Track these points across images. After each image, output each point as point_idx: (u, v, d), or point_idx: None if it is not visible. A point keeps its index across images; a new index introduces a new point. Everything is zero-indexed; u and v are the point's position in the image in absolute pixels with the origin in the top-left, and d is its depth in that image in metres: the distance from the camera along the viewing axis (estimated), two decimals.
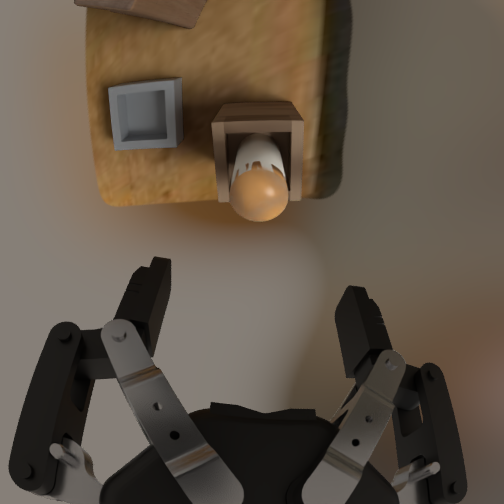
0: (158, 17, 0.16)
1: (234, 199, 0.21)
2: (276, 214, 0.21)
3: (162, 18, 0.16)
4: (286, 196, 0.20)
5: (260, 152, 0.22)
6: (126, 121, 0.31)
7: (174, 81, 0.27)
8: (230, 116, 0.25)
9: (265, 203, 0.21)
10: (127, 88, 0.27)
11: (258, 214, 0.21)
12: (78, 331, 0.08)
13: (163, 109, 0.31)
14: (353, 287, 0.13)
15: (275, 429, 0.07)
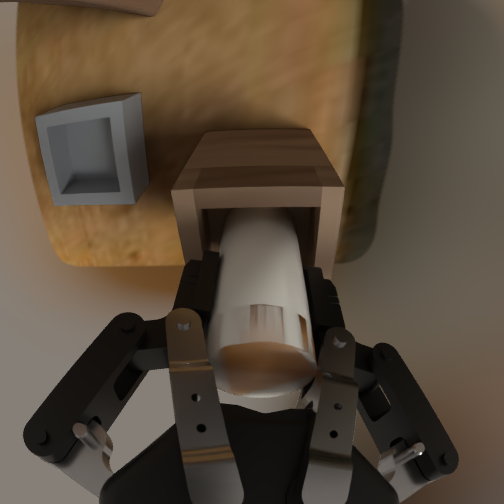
0: None
1: None
2: (290, 390, 0.11)
3: None
4: (312, 372, 0.10)
5: (261, 266, 0.11)
6: (68, 161, 0.20)
7: (123, 102, 0.16)
8: (208, 170, 0.15)
9: (272, 381, 0.10)
10: (58, 117, 0.16)
11: (258, 391, 0.11)
12: (143, 326, 0.09)
13: None
14: (308, 267, 0.13)
15: (275, 429, 0.07)
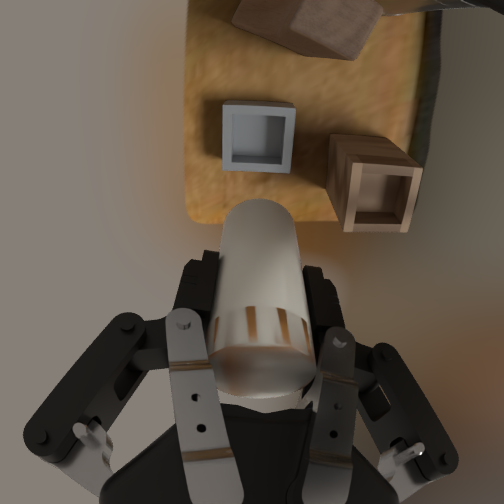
0: None
1: None
2: (290, 391, 0.11)
3: None
4: (312, 373, 0.10)
5: (261, 267, 0.11)
6: (233, 140, 0.33)
7: None
8: (360, 155, 0.27)
9: (271, 381, 0.10)
10: (245, 109, 0.29)
11: (257, 392, 0.11)
12: (143, 326, 0.09)
13: (273, 133, 0.33)
14: (308, 267, 0.13)
15: (275, 429, 0.07)
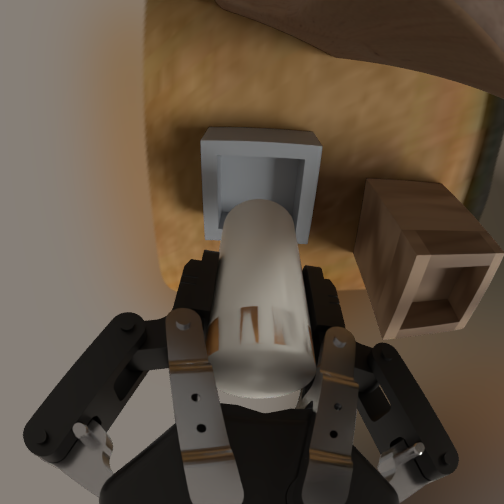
0: None
1: None
2: (290, 391, 0.11)
3: None
4: (311, 373, 0.10)
5: (261, 267, 0.11)
6: (220, 192, 0.22)
7: None
8: (422, 233, 0.16)
9: (271, 381, 0.10)
10: (238, 146, 0.18)
11: (257, 392, 0.11)
12: (143, 326, 0.09)
13: (283, 179, 0.22)
14: (308, 267, 0.13)
15: (275, 429, 0.07)
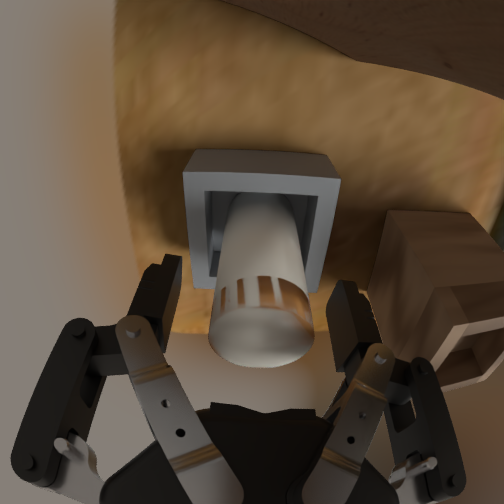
0: None
1: (218, 344, 0.11)
2: (290, 360, 0.12)
3: None
4: (310, 340, 0.11)
5: (263, 244, 0.13)
6: (212, 230, 0.18)
7: None
8: (458, 290, 0.12)
9: (273, 349, 0.11)
10: (231, 180, 0.14)
11: (260, 361, 0.12)
12: (92, 328, 0.09)
13: None
14: (343, 281, 0.13)
15: (275, 429, 0.07)
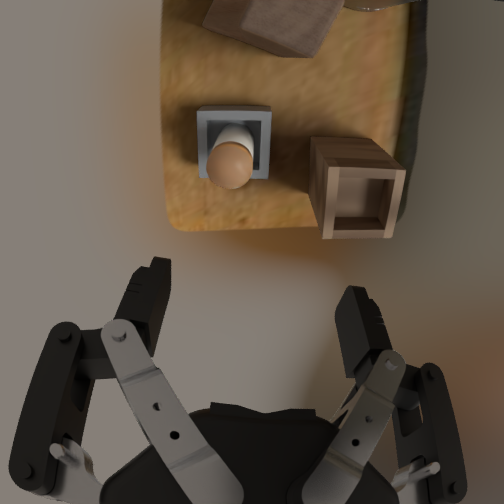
0: None
1: (210, 170, 0.25)
2: (244, 182, 0.26)
3: None
4: (251, 167, 0.25)
5: (232, 135, 0.27)
6: (210, 147, 0.33)
7: None
8: (338, 158, 0.27)
9: (235, 173, 0.26)
10: (219, 114, 0.28)
11: (229, 182, 0.26)
12: (78, 331, 0.08)
13: None
14: (353, 287, 0.13)
15: (275, 429, 0.07)
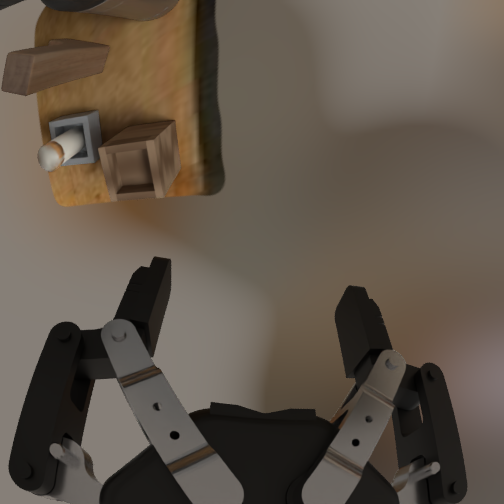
0: (54, 85, 0.24)
1: (40, 161, 0.32)
2: (56, 166, 0.33)
3: None
4: (57, 156, 0.32)
5: (58, 136, 0.34)
6: None
7: (88, 115, 0.35)
8: (114, 141, 0.34)
9: (51, 161, 0.33)
10: (60, 122, 0.35)
11: (50, 167, 0.33)
12: (78, 331, 0.08)
13: None
14: (353, 287, 0.13)
15: (275, 429, 0.07)
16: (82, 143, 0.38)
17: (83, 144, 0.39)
